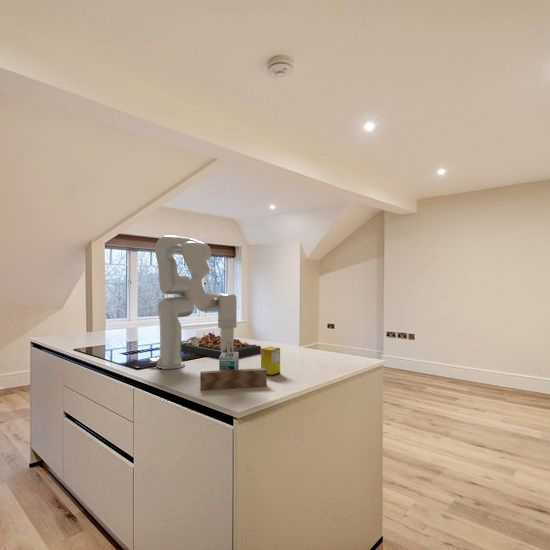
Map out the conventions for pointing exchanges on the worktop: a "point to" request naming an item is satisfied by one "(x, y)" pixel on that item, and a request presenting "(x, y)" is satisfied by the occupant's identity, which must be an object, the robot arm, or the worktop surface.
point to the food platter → (216, 346)
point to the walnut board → (233, 378)
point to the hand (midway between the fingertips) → (227, 368)
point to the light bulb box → (229, 361)
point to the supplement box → (271, 360)
